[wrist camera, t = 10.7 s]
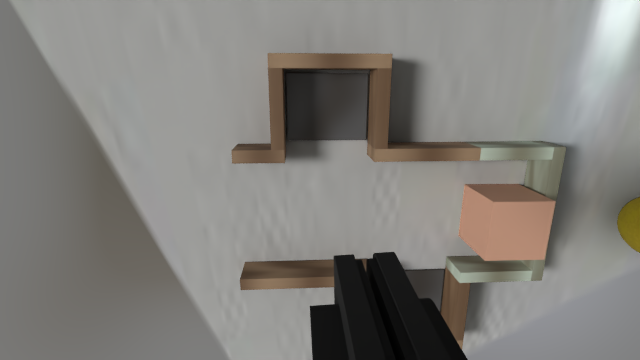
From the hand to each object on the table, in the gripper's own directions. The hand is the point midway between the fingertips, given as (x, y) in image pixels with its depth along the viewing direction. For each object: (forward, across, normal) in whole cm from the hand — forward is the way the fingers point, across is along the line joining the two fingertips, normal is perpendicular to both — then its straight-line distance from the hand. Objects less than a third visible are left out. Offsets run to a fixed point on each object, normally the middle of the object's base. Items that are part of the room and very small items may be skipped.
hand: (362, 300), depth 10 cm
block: (+21, -16, +7) cm, 27 cm away
